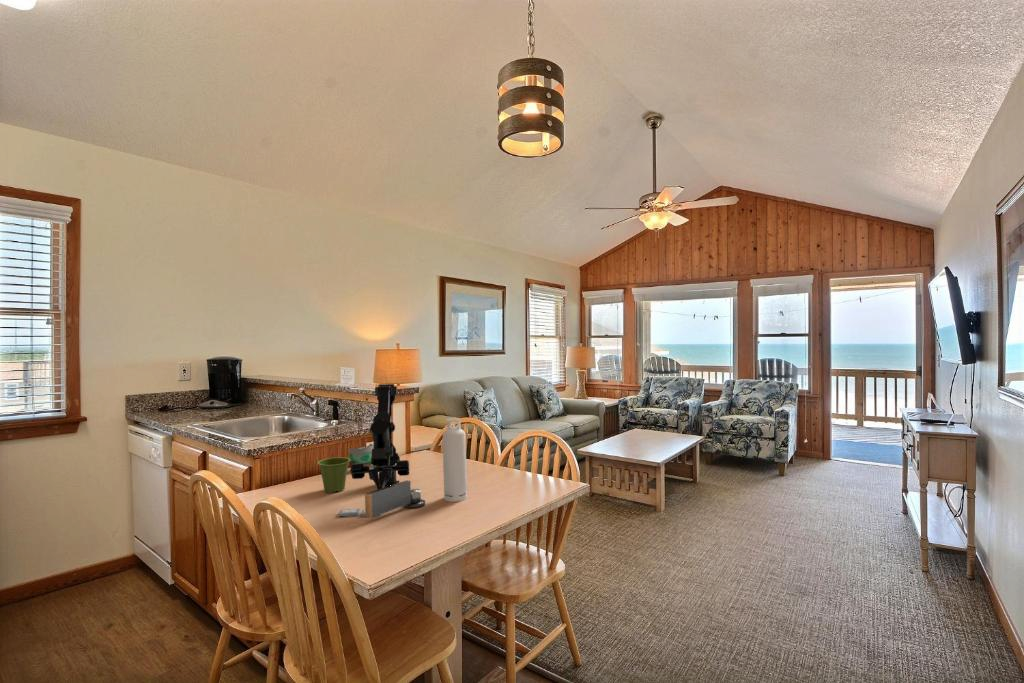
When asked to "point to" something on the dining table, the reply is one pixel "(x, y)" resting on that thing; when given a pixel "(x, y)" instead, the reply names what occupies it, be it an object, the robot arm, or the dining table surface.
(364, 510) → the label plaque
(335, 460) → the plant pot
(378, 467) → the robot arm
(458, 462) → the bottle
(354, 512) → the label plaque
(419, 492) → the swing bar
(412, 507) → the pivot base
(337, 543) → the dining table surface
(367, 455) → the food container
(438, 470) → the dining table surface
